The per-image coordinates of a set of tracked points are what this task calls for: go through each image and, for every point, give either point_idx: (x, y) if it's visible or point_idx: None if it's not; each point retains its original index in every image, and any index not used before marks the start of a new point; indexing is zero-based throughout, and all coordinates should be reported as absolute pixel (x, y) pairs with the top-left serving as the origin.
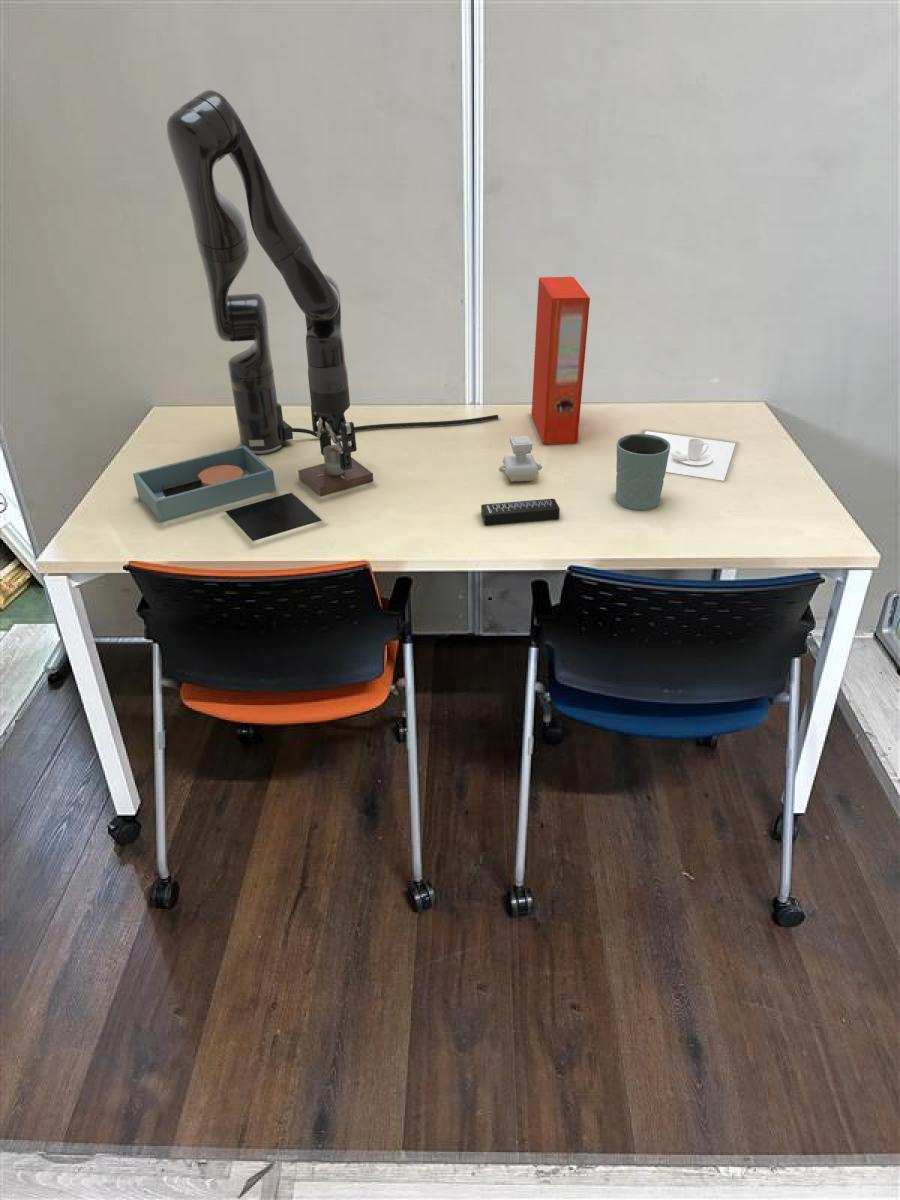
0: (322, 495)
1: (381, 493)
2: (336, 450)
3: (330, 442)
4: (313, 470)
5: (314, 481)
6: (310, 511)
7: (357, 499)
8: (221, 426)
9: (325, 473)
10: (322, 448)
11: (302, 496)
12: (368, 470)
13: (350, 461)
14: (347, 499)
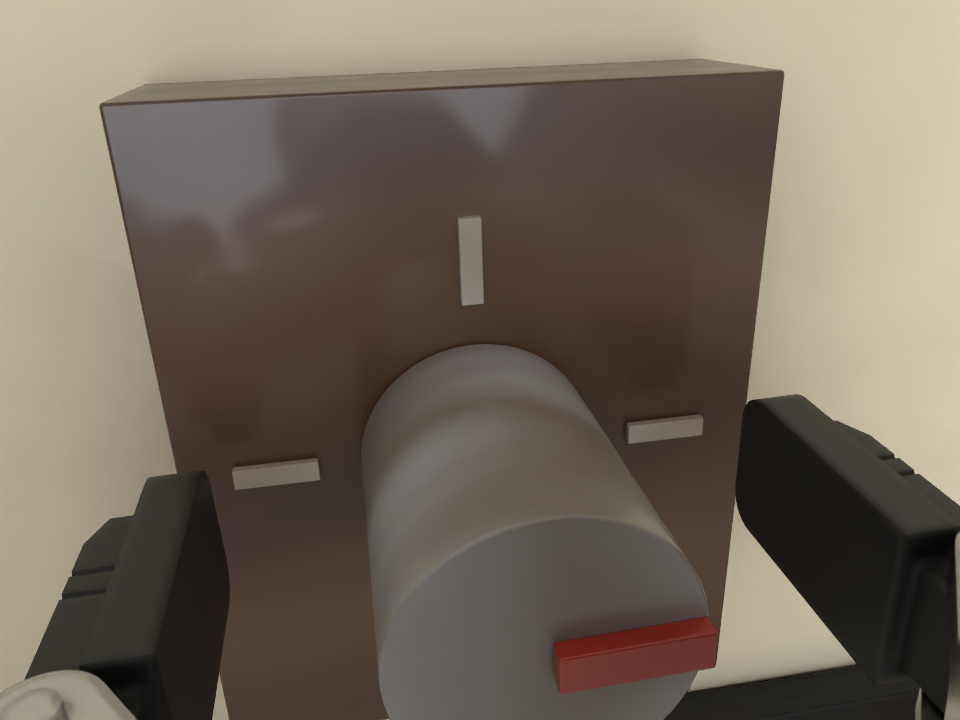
0: None
1: (876, 63)
2: (704, 663)
3: (174, 586)
4: (320, 628)
5: None
6: (836, 715)
7: (817, 317)
8: None
9: None
10: (214, 664)
11: None
12: (689, 86)
13: (904, 475)
14: (760, 390)
